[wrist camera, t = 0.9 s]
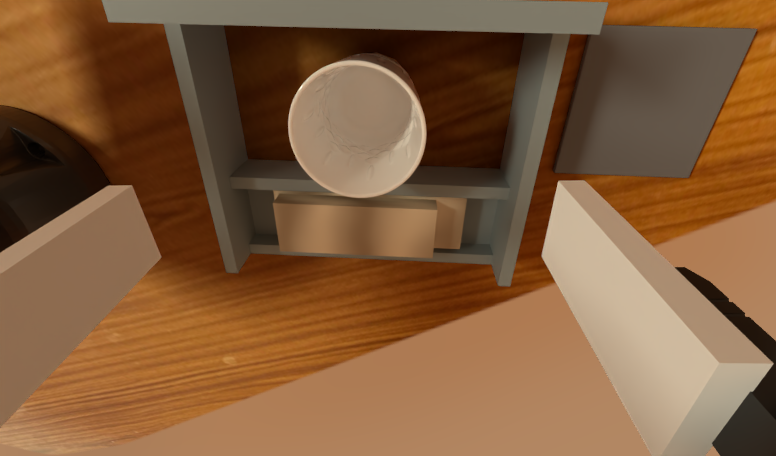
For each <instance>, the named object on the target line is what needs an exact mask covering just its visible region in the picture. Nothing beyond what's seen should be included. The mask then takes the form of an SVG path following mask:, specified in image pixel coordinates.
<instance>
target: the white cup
mask: <svg viewBox="0 0 776 456" xmlns="http://www.w3.org/2000/svg"><path fill="white" fill-rule="evenodd" d="M288 133H289V139H290V143H291V147H292V150H293V152H294V154H295V157H296V159H297V160H298V162H299V164H300V165H301V167H302V168H303V169H304V171H305V172H306V173H307V174H308V175H309V176H310V177H311V178H312V179H313V180H314V181H315V182H317V183H318V184H319V185H321V186H322V187H324V188H326V189H328V190H330V191H332V192H334V193H337V194H339V195H343V196H347V197H353V198H369V197H375V196H379V195H383V194H385V193H388V192H390V191H392V190H394V189H396V188H397V187H399V186H400V185H402V184H403V183H404V182H405V181H406V180H407V179H408V178H409V177H410V176H411V175H412V174H413V172H414V171H415V170H416V168H417V166H418V165H419V163H420V161H421V158H422V156H423V153H424V149H425V145H426V135H427V132H426V121H425V116H424V113H423V110H422V106H421V103H420V99H419V96H418V93H417V91H416V88H415V86H414V84H413V82H412V80H411V78H410V76H409V74H408V73H407V72H406V71H405V70H404V69H403V67H402V66H401V65H400V64H399V63H398V62H397V61H396V60H395V59H393V58H390V57H388V56H385V55H382V54H380V53H377V52H373V53H360V54H355V55H352V56H348V57H345V58H343V59H340V60H338V61H336V62H334V63H332V64H330V65H327V66H325V67H323V68H321V69H319V70H318V71H316V72H315V73H313V74H312V75H311V76H310V77H309V78H308V79H307V80H306V81H305V82H304V83H303V84H302V85H301V87H300V88H299V90H298V91H297V93H296V95H295V97H294V99H293V101H292V104H291V107H290V112H289V118H288Z"/></svg>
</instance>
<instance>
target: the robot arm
mask: <svg viewBox="0 0 776 456" xmlns="http://www.w3.org/2000/svg"><path fill="white" fill-rule="evenodd" d="M160 258H161V255H160V252H159V250H158V247H157V245H156V242H155V240H154V237H153V235H152V233H151V230H150V228H149V225H148V223H147V220H146V218H145V216H144V213H143V211H142V208H141V206H140V203H139V201H138V199H137V196H136V194H135V191H134V189H133V186H132V185H115V186H110V184H109V182H108V180H107V178H106V177H105V175H104V173H103V172H102V170H101V169H100V167H99V166H98V165H97V163H96V162H95V161H94V160H93V158H92V157H91V156H90V155H89V154H88V153H87V152H86V151H85V150H84V149H83V148H82V147H81V146H80V145H79V144H78V143H77V142H76V141H75V140H73V139H72V138H71V137H70V136H69V135H67V134H66V133H64V132H63V131H62V130H60V129H59V128H57V127H56V126H54V125H52V124H51V123H49V122H47V121H45V120H43V119H42V118H40V117H37V116H35V115H33V114H30V113H28V112H25V111H22V110H19V109H16V108H12V107H7V106H1V105H0V427H1V426H2V425H3V424H4V423H5V422H6V421H7V420H8V419H9V418H10V417H11V416H12V415H13V414H14V413H15V412H16V411H17V409H18V408H19V407H20V406H21V405H22V404H23V403H24V402H25V401H26V400H27V399H28V398H29V397H30V396H31V395H32V394H33V393H34V392H35V390H36V389H37V388H38V387H39V386H40V385H41V384H42V383H43V382H44V381H45V380H46V379H47V378H48V377H49V376H50V375H51V374H52V373H53V371H54V370H55V369H56V368H57V367H58V366H59V365H60V364H61V363H62V362H63V361H64V360H65V359H66V358H67V357H68V356H69V355H70V354H71V352H72V351H73V350H74V349H75V348H76V347H77V346H78V345H79V344H80V343H81V342H82V341H83V340H84V339H85V338H86V337H87V336H88V335H89V333H90V332H91V331H92V330H93V329H94V328H95V327H96V326H97V325H98V324H99V323H100V322H101V321H102V320H103V319H104V318H105V317H106V316H107V314H108V313H109V312H110V311H111V310H112V309H113V308H114V307H115V306H116V305H117V304H118V303H119V302H120V301H121V300H122V299H123V298H124V296H125V295H126V294H127V293H128V292H129V291H130V290H131V289H132V288H133V287H134V286H135V285H136V284H137V283H138V282H139V281H140V280H141V279H142V277H143V276H144V275H145V274H146V273H147V272H148V271H149V270H150V269H151V268H152V267H153V266H154V265H155V264H156V263H157V262H158V261H159V260H160ZM542 258H543V260H544V262H545V264H546V265H547V267H548V269H549V271H550V273H551V274H552V276H553V278H554V280H555V282H556V284H557V285H558V287H559V289H560V291H561V293H562V294H563V296H564V298H565V300H566V302H567V303H568V305H569V307H570V309H571V311H572V312H573V314H574V316H575V318H576V320H577V321H578V323H579V325H580V327H581V329H582V330H583V332H584V334H585V336H586V338H587V340H588V341H589V343H590V345H591V347H592V349H593V351H594V352H595V354H596V356H597V358H598V360H599V361H600V363H601V365H602V367H603V369H604V370H605V372H606V374H607V376H608V378H609V379H610V381H611V383H612V385H613V387H614V389H615V390H616V392H617V394H618V396H619V398H620V399H621V401H622V403H623V405H624V407H625V408H626V410H627V412H628V414H629V416H630V417H631V419H632V421H633V423H634V425H635V426H636V428H637V430H638V432H639V434H640V436H641V437H642V439H643V441H644V443H645V445H646V446H647V448H648V450H649V452H650V454H651V456H705V455H706V454H707V453H708V451H709V450H710V448H711V447H712V446H714V447H715V449H716V450H717V452H718V453H719V454H720V456H776V341H775V340H774V339H773V338H772V337H771V336H770V335H768V334H767V333H766V332H765V331H764V330H763V329H762V328H761V327H760V326H759V325H757V324H756V323H755V322H754V321H753V320H752V319H751V318H750V317H745V313H744V312H743V311H742V310H741V309H740V308H739V307H737V306H736V305H735V304H734V303H733V302H729V298H727V297H726V296H725V295H724V294H723V293H722V292H721V291H720V290H719V289H718V288H716V287H715V286H714V285H713V284H712V283H711V282H710V281H708V280H706V279H704V278H703V277H701V276H699V275H697V274H695V273H694V272H692V271H690V270H688V269H687V268H685V267H673V266H672V265H671V264H670V263H669V262H668V261H667V260H666V259H665V258H664V257H663V256H662V255H661V254H660V253H659V252H658V251H657V250H656V249H655V248H654V247H653V246H652V245H651V244H650V243H649V242H648V241H647V240H646V239H645V238H643V237H642V236H641V235H640V234H639V233H638V232H637V231H636V230H635V229H634V228H633V227H632V226H631V225H630V224H629V223H628V222H627V221H626V220H625V219H624V218H623V217H622V216H621V215H620V214H619V213H618V212H617V211H616V210H615V209H614V208H613V207H611V206H610V205H609V204H608V203H607V202H606V201H605V200H604V199H603V198H602V197H601V196H600V195H599V194H598V193H597V192H596V191H595V190H594V189H593V188H592V187H591V186H590V185H589V184H588V183H587V182H586V181H585V180H571V181H558V184H557V189H556V193H555V198H554V202H553V207H552V211H551V216H550V220H549V225H548V229H547V233H546V238H545V242H544V247H543V251H542Z"/></svg>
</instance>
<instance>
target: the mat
mask: <svg viewBox="0 0 776 456" xmlns="http://www.w3.org/2000/svg"><path fill="white" fill-rule="evenodd" d="M756 31H757V29H748V28H707V27H665V26H624V25H602V27H601V31H600V34H599V35H596V34H588V38H587V42H586V46H585V49H584V53H583V57H582V61H581V65H580V68H579V72H578V76H577V80H576V84H575V88H574V91H573V95H572V99H571V103H570V107H569V111H568V114H567V118H566V122H565V126H564V130H563V134H562V137H561V141H560V145H559V149H558V153H557V157H556V160H555V164H554V168H553V171H554V173H571V174H598V175H624V176H651V177H677V178H689V175H690V173H691V171H692V169H693V167H694V165H695V162H696V160H697V158H698V156H699V154H700V152H701V150H702V147H703V145H704V143H705V141H706V139H707V137H708V134H709V132H710V130H711V128H712V126H713V124H714V121H715V119H716V117H717V115H718V113H719V111H720V109H721V106H722V104H723V102H724V100H725V98H726V96H727V93H728V91H729V89H730V87H731V85H732V83H733V80H734V78H735V76H736V74H737V72H738V70H739V68H740V65H741V63H742V61H743V59H744V57H745V55H746V52H747V50H748V48H749V46H750V44H751V42H752V39H753V37H754V35H755V33H756Z"/></svg>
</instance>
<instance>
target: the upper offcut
mask: <svg viewBox="0 0 776 456" xmlns="http://www.w3.org/2000/svg"><path fill="white" fill-rule="evenodd" d="M273 208H274V215H275V221H276V228H277V234H278V241H279V247H280V251H285V252H307V253H329V254H350V255H372V256H394V257H415V258H433V249H434V239H435V229H436V219H437V203H436V200H429V199H404V198H380V197H369V198H353V197H347V196H331V195H306V194H282V193H279V195H278V196H277V198H276V199H275V201H274V202H273Z"/></svg>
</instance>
